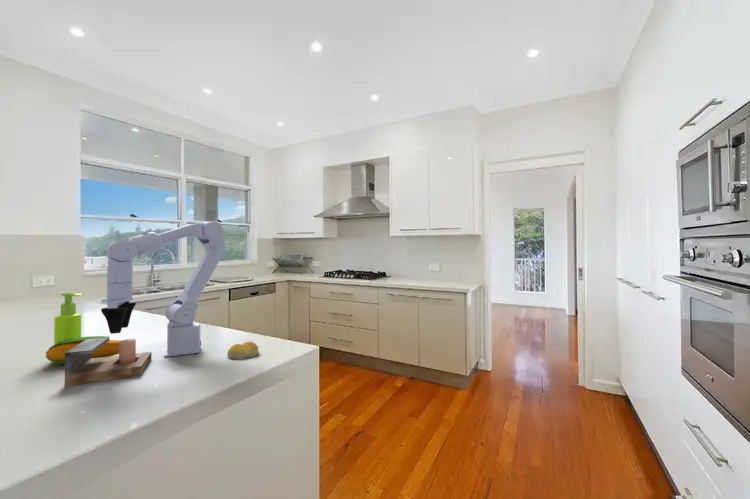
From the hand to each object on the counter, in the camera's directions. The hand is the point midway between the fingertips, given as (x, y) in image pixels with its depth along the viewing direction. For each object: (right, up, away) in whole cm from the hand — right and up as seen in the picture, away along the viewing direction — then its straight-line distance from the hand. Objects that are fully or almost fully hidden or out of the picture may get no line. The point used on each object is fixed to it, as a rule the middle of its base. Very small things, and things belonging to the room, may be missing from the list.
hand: (119, 330), depth 91 cm
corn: (-12, -10, +4) cm, 16 cm away
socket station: (+3, -10, -5) cm, 12 cm away
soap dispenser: (-20, -10, +6) cm, 24 cm away
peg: (+5, -10, -4) cm, 12 cm away
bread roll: (+32, -10, +9) cm, 35 cm away
